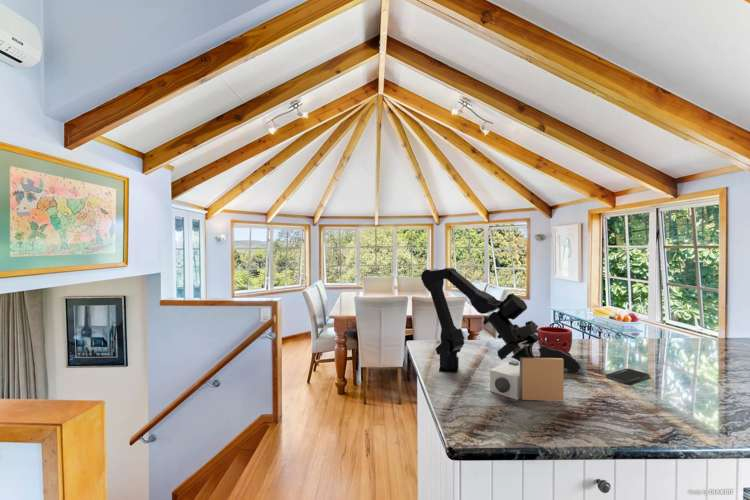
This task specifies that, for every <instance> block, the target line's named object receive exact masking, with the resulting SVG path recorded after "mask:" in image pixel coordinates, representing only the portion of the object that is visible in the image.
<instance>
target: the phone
mask: <svg viewBox="0 0 750 500" xmlns="http://www.w3.org/2000/svg"><path fill="white" fill-rule="evenodd" d="M650 377H651V376H650V373H646V372H642V371H639V370H635V369H632V368H623V369H621V370H617V371H614V372H611V373H607V374H605V378H606V379H608V380H611V381H614V382H618V383H621V384H625V385H632V384H635V383H638V382H640V381H643V380H646V379H649V378H650Z"/></svg>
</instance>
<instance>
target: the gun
mask: <svg viewBox="0 0 750 500" xmlns="http://www.w3.org/2000/svg"><path fill="white" fill-rule="evenodd" d="M538 352H539V354H540V355H539V357H538V358H562V359H564V370H567V371H569V372H571V373H573V374H578V373H579V371H581V372H583V371H584V369H583V368H582V367H581V365H580V363H578V361H577V360H576V359H575V358H573V356H572V355H571V356H570V355H568V354H566V353H564V352H562V351H560V350H557V349H552V348H548V347H546V346H544V345H542V346H539V348H538Z"/></svg>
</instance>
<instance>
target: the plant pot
mask: <svg viewBox="0 0 750 500" xmlns="http://www.w3.org/2000/svg"><path fill="white" fill-rule="evenodd" d="M537 331H538V333H536V335H537V336H538V337H539V338H540V339H539V340H538V341H537V343H538V345H539V347H540V346H542V345H544V346H546V347H548V348H552V349H557V350H560V351H562V352H564V353H566V354H568V355H570V356H572V354H571V353H570V351H571V349H572V345H573V332H572V331H573V330H572V329H569V328H565V327H559V326H558V327H557V326H541V327H538V328H537Z"/></svg>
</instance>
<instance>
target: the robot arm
mask: <svg viewBox="0 0 750 500" xmlns="http://www.w3.org/2000/svg"><path fill="white" fill-rule="evenodd" d="M420 278H421V281H422V284H423V286H424V288H425V289H426V290H427V291H428V292H429V293H430V295H431V298H432V302H433V305H434V308H435V311H436V315H437V318H438V322H439V325H440V328H441V330H440V336H439V337H440V341H441V342H440V344H438V345H437V347H436V348H435V353H436V354H437V355H438V356H439V369H438V371H440V372H448V373H457V372H458V370H459V367H460V366H459V363H460V361H459V360H460V358H459V356H458V353H460V352H461V349H462V348H463V347H464V346H465V345H464V344H465V339H466V338H465V337H464V335H463V331H462V328H457V327H456V326H455V324H454V321H453V319H452V314H451V311H450V309H449V306H448V302H447V299H446V296H445V293H444V283H445V281H444V280H447V281H448V282H449V283H451V284H452V285H453V286H454V288H456V289H458V291H460V292H461V294H464V296H466V297H467V299H468V300H469V301H470V303H471V304H470V305H471V306H472V307H473V308H474V309H475V310H476V313H477V312H478V313H479V314H480V315H484V314H488V313H490V314H489V315H484V316H483V321H482V322H483V325H484V326H485V325H488V324H490V325H491V326H492V328H493V329H494V330H495V331H496V333H497V334H498V335H497V338H498V339H502V340H503V342H504V345H503V346H502V347H500V348H498V350H497V356H498V358H499V359H500V360H501V361H503V360H504V359H507V356H509V355H510V354H511V353H512V354H513V355H511V356H510V358H511V359H515V361H517V362H520V357H523V358H535V355H534V353H533V347H534V344H535V343H538V340H539V339H540V338H539V337H538V336H537V333H538V331H537V329H538V328H539V326H538V325H537V324H536V323H535V322H534V321H533V320H530V321H529V320H528V321H526V322H525V325H524V326H519V325H518V324H516V323H515V324H514V323H512V321H511V320H516V319H518V317H519V316H521V314H523V313H524V312H525V311H527V309H528V305H527V304H526V302H525V301H524V299H521V298H520V297H519V296H516V295H515V294H514V293H509V294H508V295H507V296H506V297H505V298H504V300H502V301H501V300H499V299H497V298H496V297H495V296H493V295H491V294H490V293H488V292H486V291H484V290H480V289H479V288H477V286H475V285H474V284H473V283H472V282H470V281H469V280H468V279H467V278H465V277H464V276H463V275H462V274H460V273H459V271H457V270H456V269H455V268H454V267H445V268H443V269H442V268H441V269H438V268H429V269H428V268H427V269H425V270H423V271H422V273H421V275H420Z"/></svg>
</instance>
